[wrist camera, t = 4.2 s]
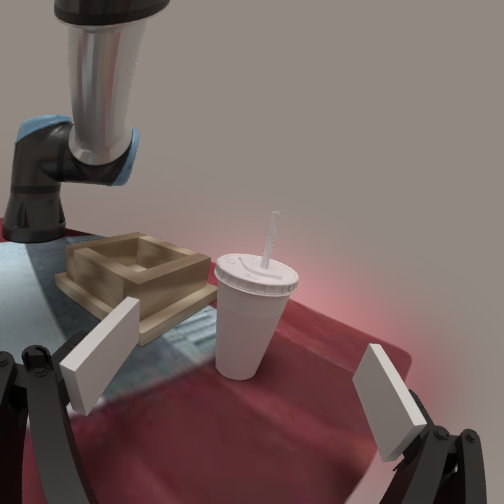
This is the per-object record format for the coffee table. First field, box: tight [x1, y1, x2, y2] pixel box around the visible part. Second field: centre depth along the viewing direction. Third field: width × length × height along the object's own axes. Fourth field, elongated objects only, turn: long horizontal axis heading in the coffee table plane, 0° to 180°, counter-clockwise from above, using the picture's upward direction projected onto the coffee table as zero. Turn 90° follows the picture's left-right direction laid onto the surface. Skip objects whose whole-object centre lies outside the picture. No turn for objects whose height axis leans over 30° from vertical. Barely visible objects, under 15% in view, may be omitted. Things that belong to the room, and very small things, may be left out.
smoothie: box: [214, 211, 299, 380], centre depth 21 cm, size 6×6×14 cm
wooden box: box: [55, 232, 218, 347], centre depth 31 cm, size 16×15×6 cm
